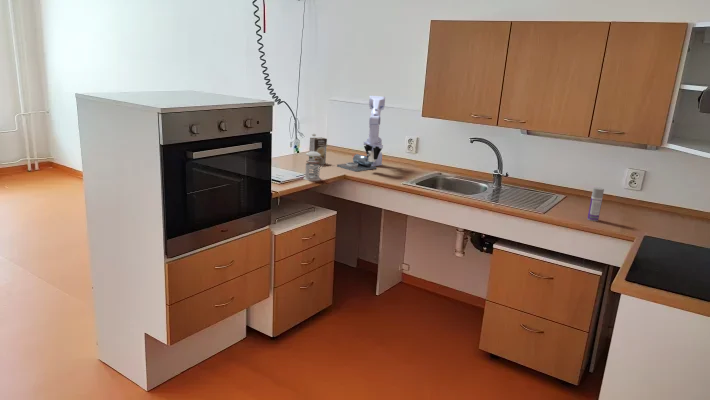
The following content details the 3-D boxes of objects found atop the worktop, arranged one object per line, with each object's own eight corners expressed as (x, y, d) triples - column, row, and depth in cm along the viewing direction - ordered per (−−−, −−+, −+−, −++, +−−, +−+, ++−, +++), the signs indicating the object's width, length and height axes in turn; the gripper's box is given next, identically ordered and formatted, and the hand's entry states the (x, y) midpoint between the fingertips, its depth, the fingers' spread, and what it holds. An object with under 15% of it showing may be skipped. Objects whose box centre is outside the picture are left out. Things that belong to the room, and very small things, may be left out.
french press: (299, 177, 290) (301, 132, 283) (317, 175, 297) (319, 132, 290) (309, 181, 282) (311, 135, 276) (327, 179, 289) (329, 134, 283)
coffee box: (314, 164, 328) (315, 139, 324) (308, 162, 332) (309, 137, 328) (325, 163, 333) (327, 138, 329) (320, 161, 338) (321, 137, 334)
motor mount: (357, 164, 339) (358, 153, 337) (376, 168, 327) (377, 157, 325) (336, 166, 327) (337, 155, 325) (355, 171, 315) (356, 159, 313)
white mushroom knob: (371, 159, 319) (372, 150, 317) (378, 161, 315) (379, 151, 313) (363, 160, 314) (364, 151, 312) (369, 162, 310) (370, 152, 308)
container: (589, 217, 246) (594, 186, 242) (599, 219, 243) (605, 188, 239) (586, 219, 242) (591, 188, 238) (596, 221, 239) (602, 190, 235)
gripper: (360, 134, 313) (359, 156, 317) (377, 138, 303) (375, 161, 307) (368, 134, 318) (367, 156, 321) (386, 137, 308) (384, 160, 311)
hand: (372, 158), depth 314 cm, fingers closed on white mushroom knob, 5 cm apart
